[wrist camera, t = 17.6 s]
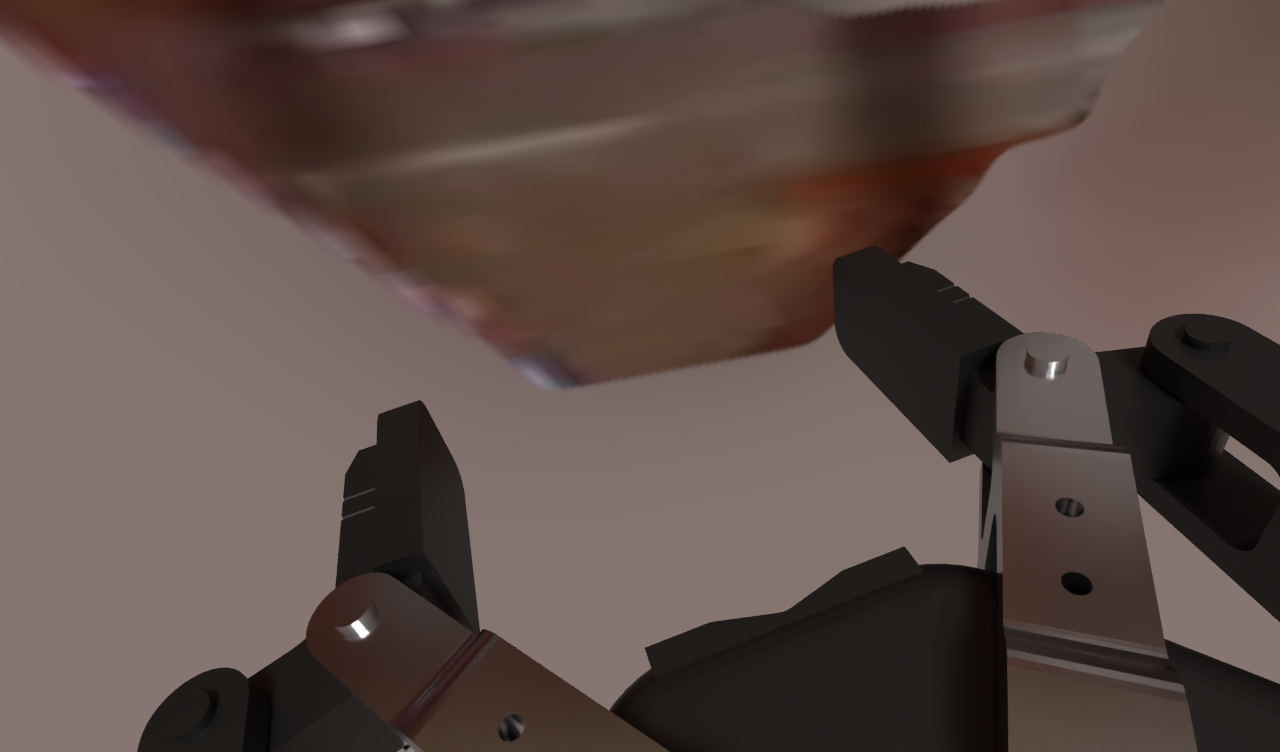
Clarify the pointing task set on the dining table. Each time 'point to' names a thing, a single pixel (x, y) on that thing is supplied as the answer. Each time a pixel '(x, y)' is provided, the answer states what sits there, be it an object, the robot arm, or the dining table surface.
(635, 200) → the dining table surface
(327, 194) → the dining table surface
